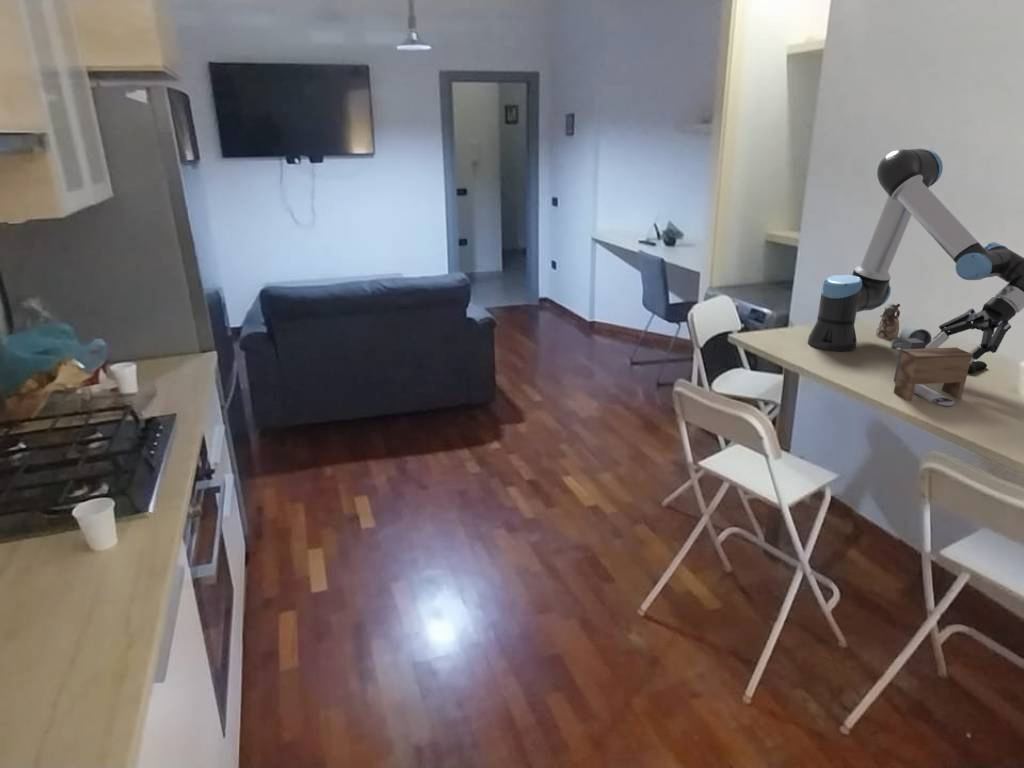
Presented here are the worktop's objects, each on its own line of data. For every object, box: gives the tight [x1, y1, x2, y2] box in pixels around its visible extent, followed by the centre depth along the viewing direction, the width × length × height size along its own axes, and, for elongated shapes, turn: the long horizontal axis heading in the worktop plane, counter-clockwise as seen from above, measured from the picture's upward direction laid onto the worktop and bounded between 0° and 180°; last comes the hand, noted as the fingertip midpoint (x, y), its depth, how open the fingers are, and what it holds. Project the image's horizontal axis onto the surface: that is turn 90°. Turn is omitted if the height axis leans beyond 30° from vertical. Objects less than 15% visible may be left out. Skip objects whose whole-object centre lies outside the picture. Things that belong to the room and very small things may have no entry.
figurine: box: [875, 302, 901, 340], centre depth 241 cm, size 7×7×12 cm
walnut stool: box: [893, 347, 973, 401], centre depth 187 cm, size 6×16×13 cm, turn 97°
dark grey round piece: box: [934, 397, 955, 408], centre depth 182 cm, size 4×4×1 cm
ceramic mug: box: [890, 325, 932, 349], centre depth 229 cm, size 11×8×8 cm
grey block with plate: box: [893, 338, 948, 402], centre depth 190 cm, size 16×5×13 cm, turn 7°
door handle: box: [967, 360, 988, 375], centre depth 216 cm, size 3×20×16 cm
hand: (944, 357), depth 196 cm, fingers open, 13 cm apart
